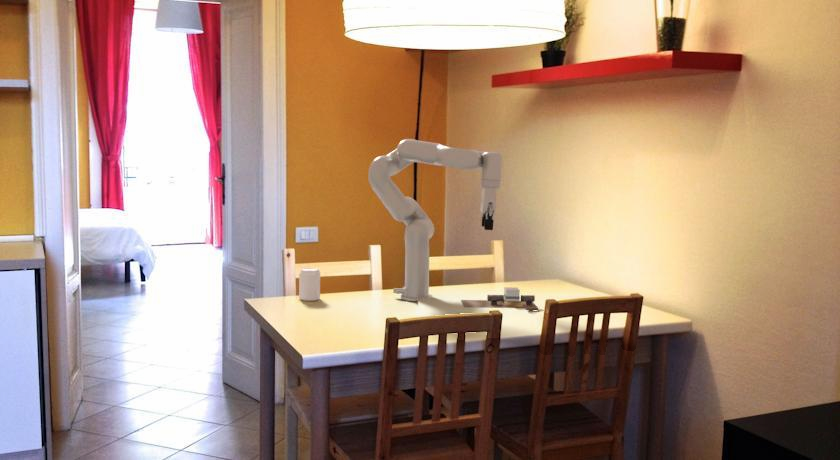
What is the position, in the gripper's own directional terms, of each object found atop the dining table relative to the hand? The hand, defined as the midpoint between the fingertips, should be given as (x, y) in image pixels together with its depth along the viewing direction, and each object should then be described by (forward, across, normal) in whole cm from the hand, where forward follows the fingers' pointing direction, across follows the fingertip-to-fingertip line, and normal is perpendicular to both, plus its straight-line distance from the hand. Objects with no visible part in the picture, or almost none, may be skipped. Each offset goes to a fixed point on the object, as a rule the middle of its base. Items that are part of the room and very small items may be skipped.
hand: (487, 228), depth 309 cm
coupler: (+28, +6, +11) cm, 31 cm away
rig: (+29, +7, +6) cm, 31 cm away
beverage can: (+33, -2, -67) cm, 75 cm away
